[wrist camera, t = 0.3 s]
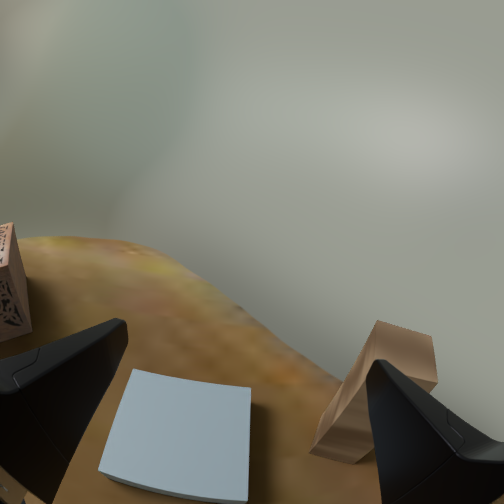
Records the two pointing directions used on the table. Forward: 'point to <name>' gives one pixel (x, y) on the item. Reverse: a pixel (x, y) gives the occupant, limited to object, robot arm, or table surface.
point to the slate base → (181, 439)
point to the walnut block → (355, 395)
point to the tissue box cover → (12, 288)
